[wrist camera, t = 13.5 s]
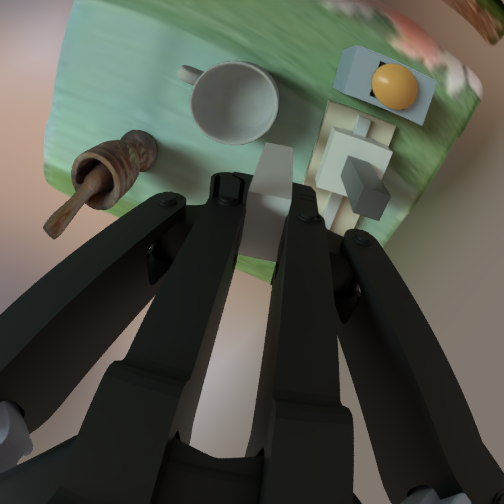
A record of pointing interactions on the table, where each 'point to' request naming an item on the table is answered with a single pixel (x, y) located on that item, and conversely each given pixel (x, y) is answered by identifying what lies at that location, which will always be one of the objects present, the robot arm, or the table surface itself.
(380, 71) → the button
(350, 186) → the carriage
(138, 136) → the mortar and pestle
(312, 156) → the rail board
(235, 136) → the teacup
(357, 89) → the blue-grey button box
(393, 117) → the table surface
